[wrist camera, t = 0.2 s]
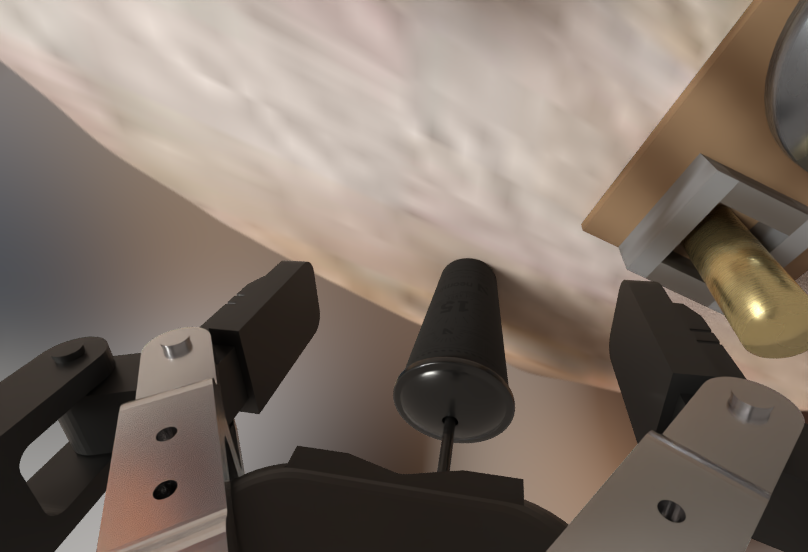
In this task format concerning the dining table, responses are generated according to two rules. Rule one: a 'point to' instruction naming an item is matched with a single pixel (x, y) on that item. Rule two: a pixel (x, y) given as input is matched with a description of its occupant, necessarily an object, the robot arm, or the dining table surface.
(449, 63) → the dining table surface
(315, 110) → the dining table surface
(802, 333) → the gold metallic cylinder
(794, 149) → the handwheel
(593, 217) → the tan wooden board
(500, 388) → the dark tapered cylinder
